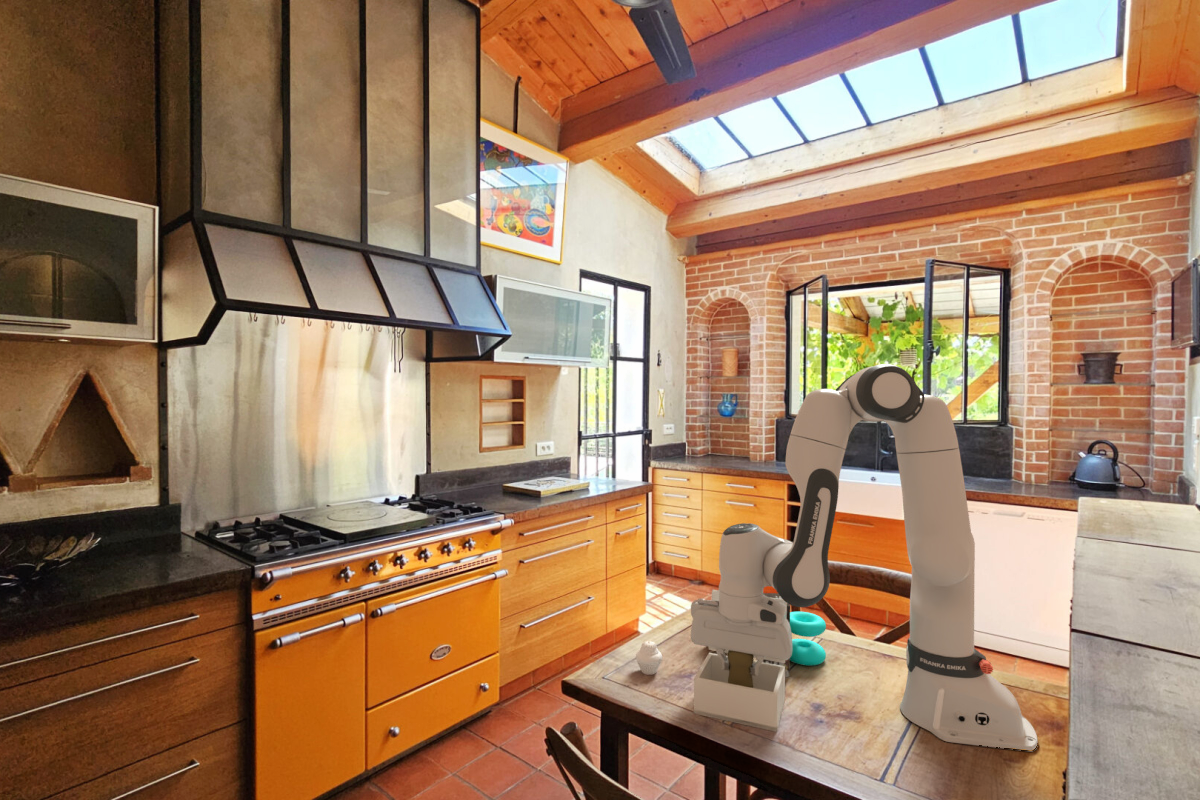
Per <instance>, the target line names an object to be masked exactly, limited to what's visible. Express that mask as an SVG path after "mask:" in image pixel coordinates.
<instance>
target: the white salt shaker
mask: <svg viewBox="0 0 1200 800" xmlns="http://www.w3.org/2000/svg"><path fill="white" fill-rule="evenodd" d="M635 659H636V662H637V665H638V667H639V669H640V671H641V673H642V674H644V675H648V676H650V675H655V674H656V673H657V671H658V669H659V667H660V665H661V664H662V661H663V654H662V652H661V651H660V650H659V649H658V647H657V644H656V643H655V642H654V641H647V640H646V641H643V643H642V644H641V647H640V649H638V650H637V651H636V653H635Z"/></svg>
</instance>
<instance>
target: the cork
mask: <svg viewBox="0 0 1200 800" xmlns="http://www.w3.org/2000/svg"><path fill="white" fill-rule="evenodd" d="M727 656H728V661H729V663H730V670H729V677H728V683H729V684H734V685H739V686H745V687H750V688H754V687H753V680H752V675H750V666H751V665H752V664H753V661H755V660H754V659H755V658H754V656H753V654H748V653H742V652H736V651H731V650H729V651H728V653H727Z"/></svg>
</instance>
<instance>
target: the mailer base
mask: <svg viewBox="0 0 1200 800" xmlns="http://www.w3.org/2000/svg"><path fill="white" fill-rule="evenodd" d="M725 656H726V658H727V659H728V655H725ZM757 661H758V660H753V664H756V662H757ZM728 677H729V671H727V670H722V662H721V660H720V658H719V656H718V654H717V653H712V652H708V654H707V655H706V657H705V659H704V661H703V663H702V664H701V665H700V667H699V669H698V671H697V672H696V674H695V676H694V678H693V714H694V715H697V716H698V715H699V716H704V717H708V718H712V719H713V718H714V719H717V720H720V721H721V720H722V721H726V722H731V723H736V724H739V725H744V726H747V727H753V728H758V729H762V730H767V731H771V732H775V733H777V732H778V730H779V725H780V721H781V717H782V712H783V709H784V705H785V700H786V699H785V698H786V695H785V694H786V691H785V690H786V685H785V684H786V683H785V681H786V677H785V666H780V665H775V664H769V663H764V662H762V663H761V665H760V666H759V673H758V676H753V675H752V680H753V687H754V688H750V687H745V686H739V685H734V684H729V683H728Z"/></svg>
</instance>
